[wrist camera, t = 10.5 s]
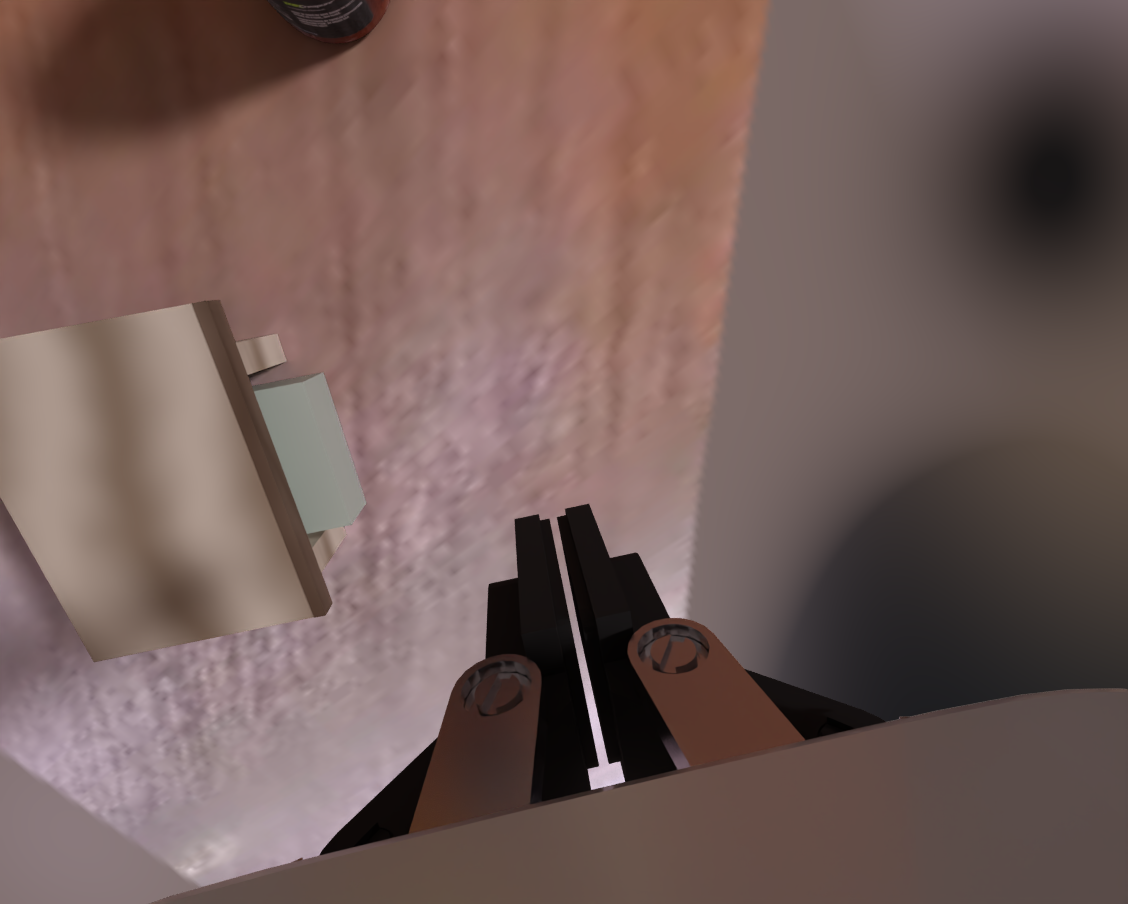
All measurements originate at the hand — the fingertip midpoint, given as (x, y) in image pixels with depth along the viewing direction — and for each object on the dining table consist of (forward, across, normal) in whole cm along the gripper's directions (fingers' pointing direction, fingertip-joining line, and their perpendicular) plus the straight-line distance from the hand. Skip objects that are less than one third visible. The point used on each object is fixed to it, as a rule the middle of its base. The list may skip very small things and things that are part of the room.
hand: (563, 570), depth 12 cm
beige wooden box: (+20, +18, +1) cm, 27 cm away
